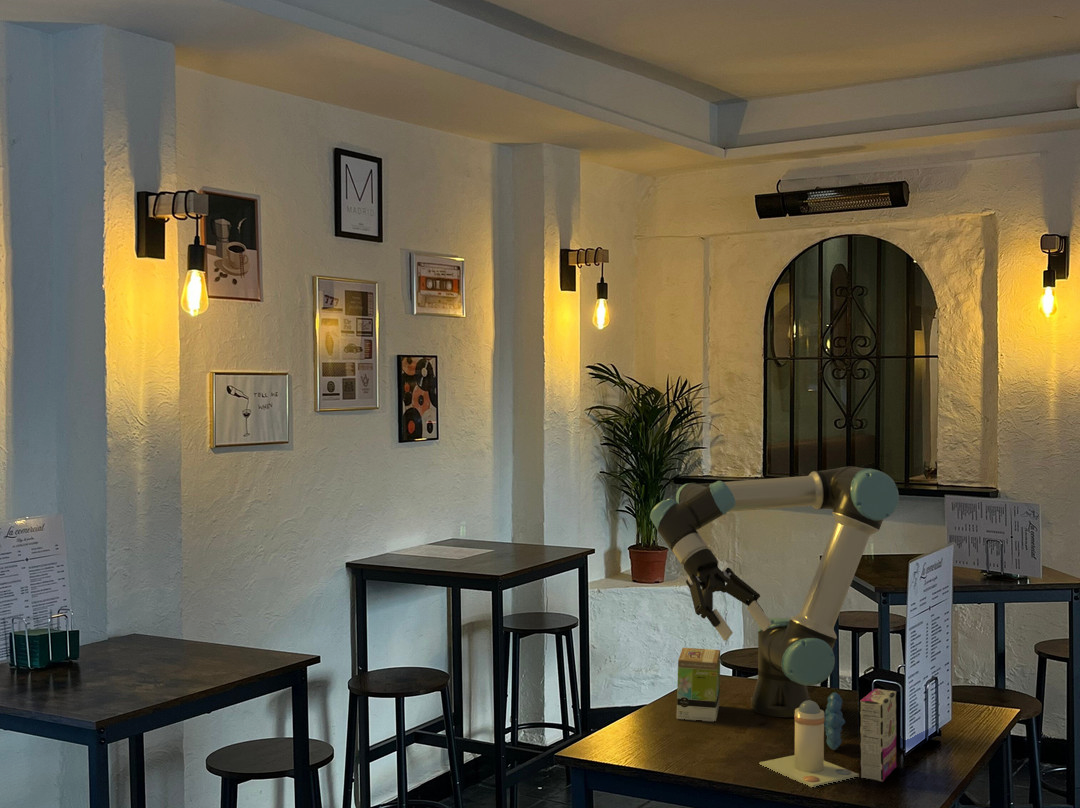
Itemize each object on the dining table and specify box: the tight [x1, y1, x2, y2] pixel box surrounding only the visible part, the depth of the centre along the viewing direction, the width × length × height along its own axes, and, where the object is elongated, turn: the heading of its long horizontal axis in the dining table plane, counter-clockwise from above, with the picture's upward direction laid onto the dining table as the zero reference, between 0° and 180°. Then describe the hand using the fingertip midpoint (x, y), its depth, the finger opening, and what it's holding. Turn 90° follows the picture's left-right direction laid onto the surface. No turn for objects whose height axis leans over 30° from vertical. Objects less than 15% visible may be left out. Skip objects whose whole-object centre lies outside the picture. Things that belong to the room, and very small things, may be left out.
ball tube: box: [793, 699, 825, 773], centre depth 237 cm, size 6×6×14 cm
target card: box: [759, 754, 860, 788], centre depth 237 cm, size 13×16×1 cm
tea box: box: [676, 647, 721, 722], centre depth 280 cm, size 15×10×15 cm
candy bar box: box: [859, 688, 897, 783], centre depth 236 cm, size 11×5×16 cm, turn 148°
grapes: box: [824, 691, 846, 751], centre depth 254 cm, size 12×7×12 cm, turn 163°
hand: (748, 632), depth 249 cm, fingers open, 13 cm apart
